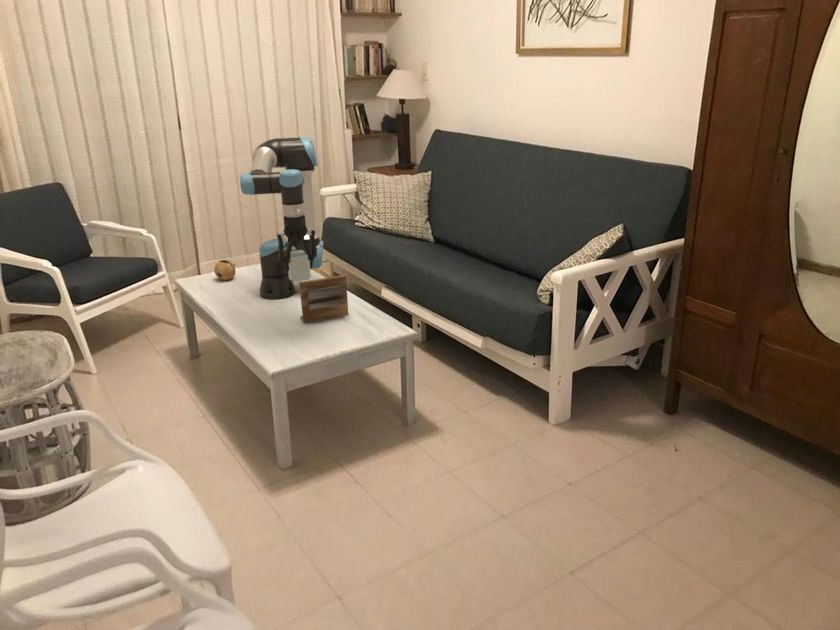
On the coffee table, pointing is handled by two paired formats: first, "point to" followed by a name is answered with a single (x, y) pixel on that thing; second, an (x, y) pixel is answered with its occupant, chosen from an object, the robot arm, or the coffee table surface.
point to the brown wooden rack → (323, 298)
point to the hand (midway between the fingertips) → (299, 277)
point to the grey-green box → (299, 265)
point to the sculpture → (225, 270)
